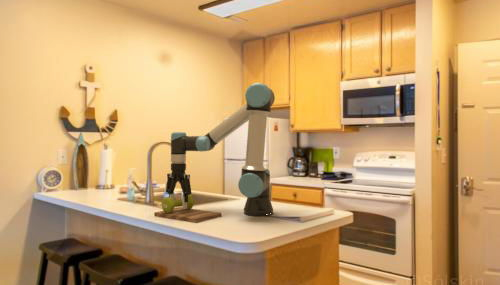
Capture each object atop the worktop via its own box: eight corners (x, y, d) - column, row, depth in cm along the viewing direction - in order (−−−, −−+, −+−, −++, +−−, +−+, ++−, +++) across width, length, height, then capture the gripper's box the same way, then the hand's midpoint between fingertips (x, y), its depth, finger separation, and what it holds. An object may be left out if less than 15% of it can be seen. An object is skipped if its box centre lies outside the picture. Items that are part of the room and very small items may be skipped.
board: (221, 216, 182) (221, 212, 182) (196, 222, 167) (196, 218, 167) (180, 210, 198) (180, 207, 198) (154, 216, 183) (154, 212, 183)
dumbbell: (169, 213, 177) (169, 198, 177) (159, 211, 182) (159, 197, 182) (195, 209, 190) (195, 195, 190) (185, 207, 195) (185, 193, 195)
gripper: (199, 163, 183) (198, 208, 183) (169, 161, 195) (168, 204, 195) (188, 163, 177) (188, 211, 177) (158, 162, 189) (158, 206, 189)
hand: (178, 207), depth 186 cm, fingers closed on dumbbell, 8 cm apart
